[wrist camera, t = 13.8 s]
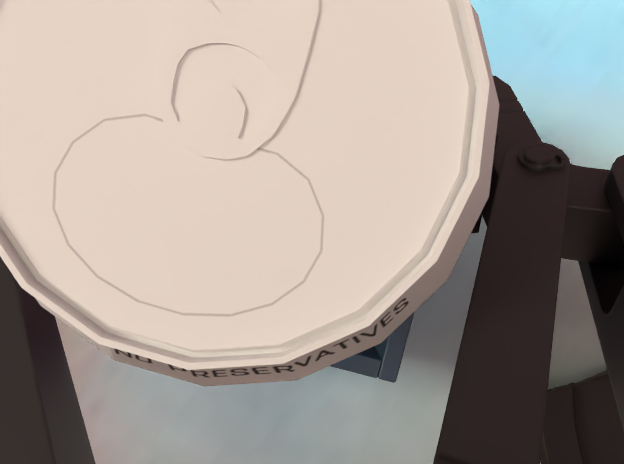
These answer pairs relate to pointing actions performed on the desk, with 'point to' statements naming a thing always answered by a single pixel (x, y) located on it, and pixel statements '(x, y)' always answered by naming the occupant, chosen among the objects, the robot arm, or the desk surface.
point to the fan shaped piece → (582, 424)
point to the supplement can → (240, 173)
